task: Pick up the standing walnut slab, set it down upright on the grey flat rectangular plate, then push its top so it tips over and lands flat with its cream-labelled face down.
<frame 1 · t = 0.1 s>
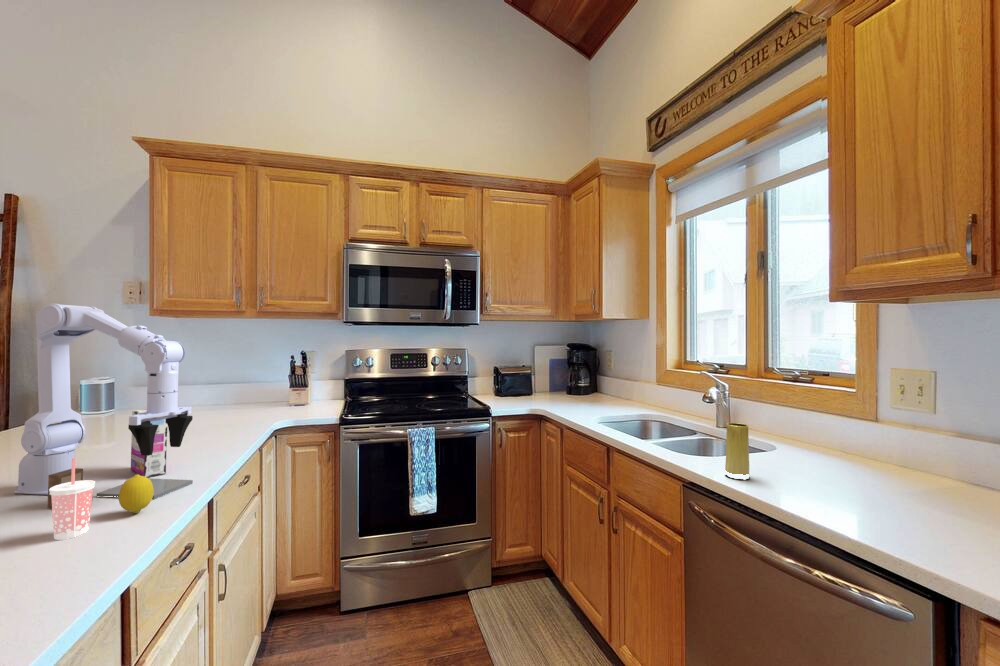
hand: (161, 450, 102), 10 cm above the worktop, tool pointing down, fingers open, 7 cm apart
lemon: (136, 514, 90), on the worktop
beverage cup: (71, 535, 81), on the worktop
walnut slab: (65, 504, 95), on the worktop
grey flat rectangular plate: (146, 489, 104), on the worktop
vase: (737, 477, 119), on the worktop
candy bar box: (148, 473, 118), on the worktop
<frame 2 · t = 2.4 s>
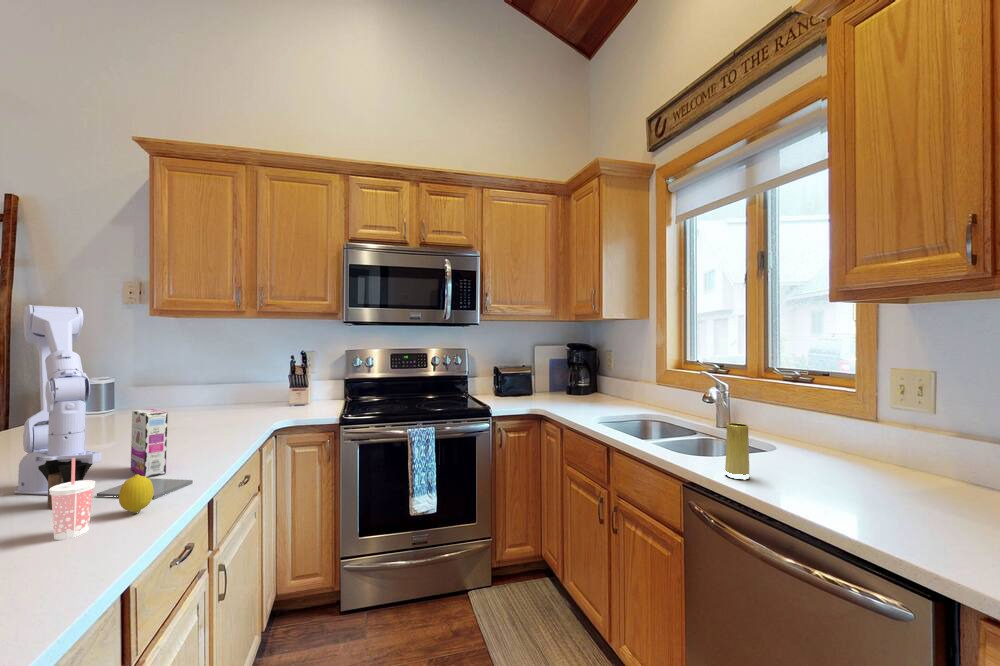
hand: (65, 495, 95), 2 cm above the worktop, tool pointing down, fingers closed on walnut slab, 2 cm apart
walnut slab: (65, 503, 95), on the worktop, touching gripper
everything else where it was.
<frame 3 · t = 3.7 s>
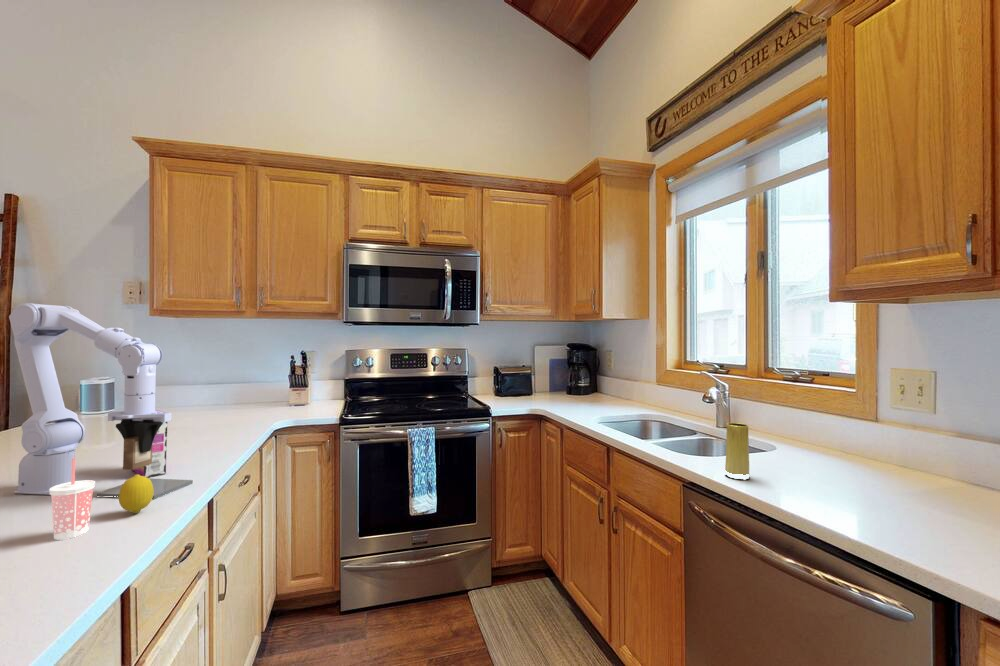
hand: (139, 451, 104), 9 cm above the worktop, tool pointing down, fingers closed on walnut slab, 2 cm apart
walnut slab: (137, 466, 103), point 6 cm above the worktop, touching gripper
everything else where it was.
when the fingers open (3 cm above the worktop, at t = 5.2 s): walnut slab stays where it is, resting on grey flat rectangular plate.
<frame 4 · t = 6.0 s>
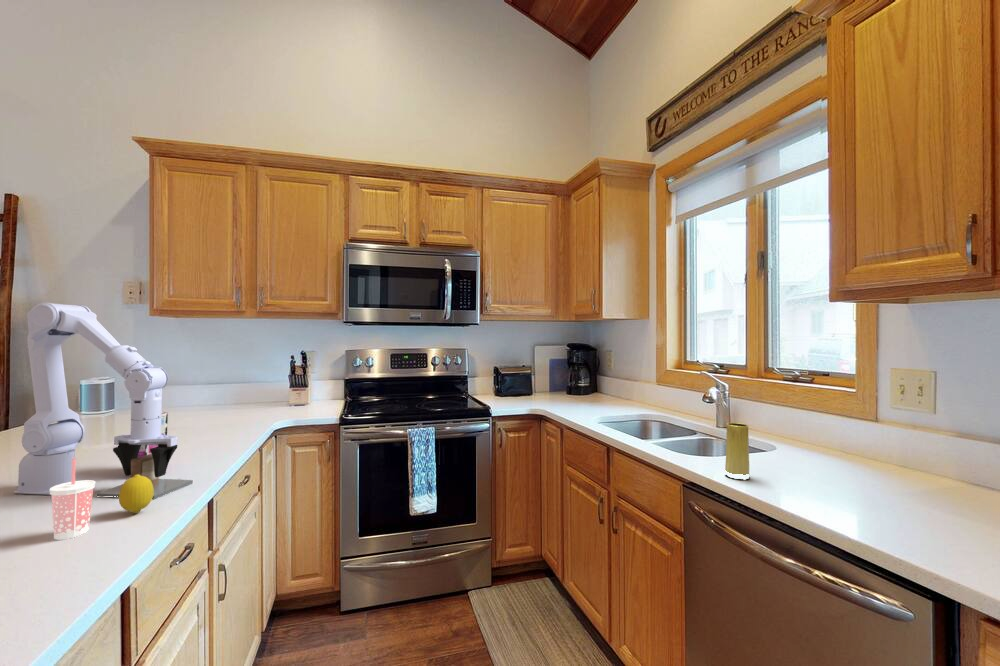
hand: (145, 475, 104), 3 cm above the worktop, tool pointing down, fingers open, 7 cm apart
walnut slab: (144, 486, 104), point 1 cm above the worktop, touching grey flat rectangular plate
everything else where it was.
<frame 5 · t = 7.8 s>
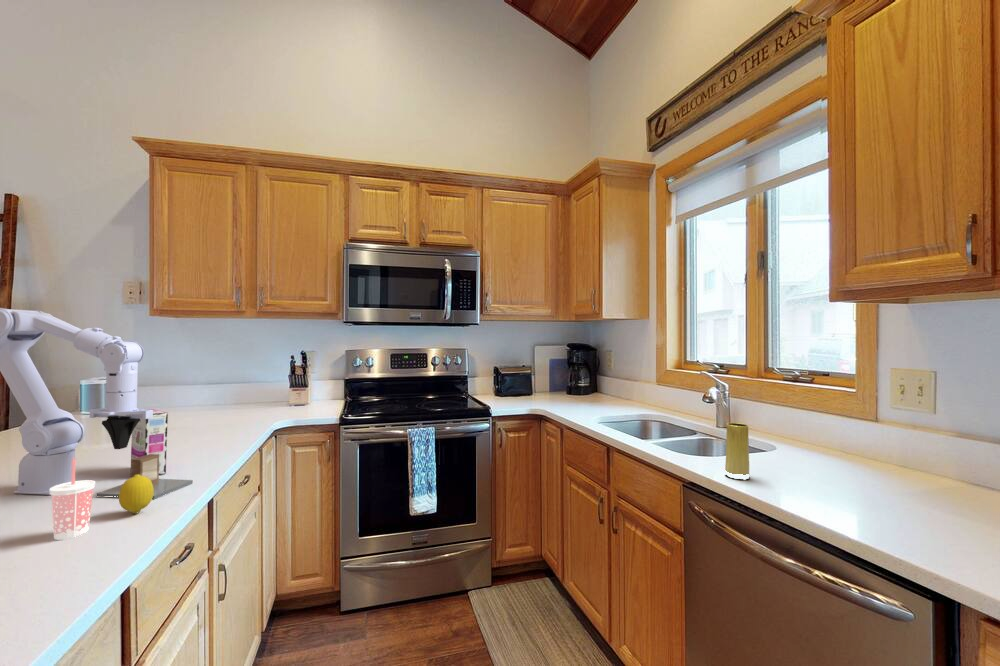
hand: (120, 448, 105), 10 cm above the worktop, tool pointing down, fingers closed
nothing on the worktop moved.
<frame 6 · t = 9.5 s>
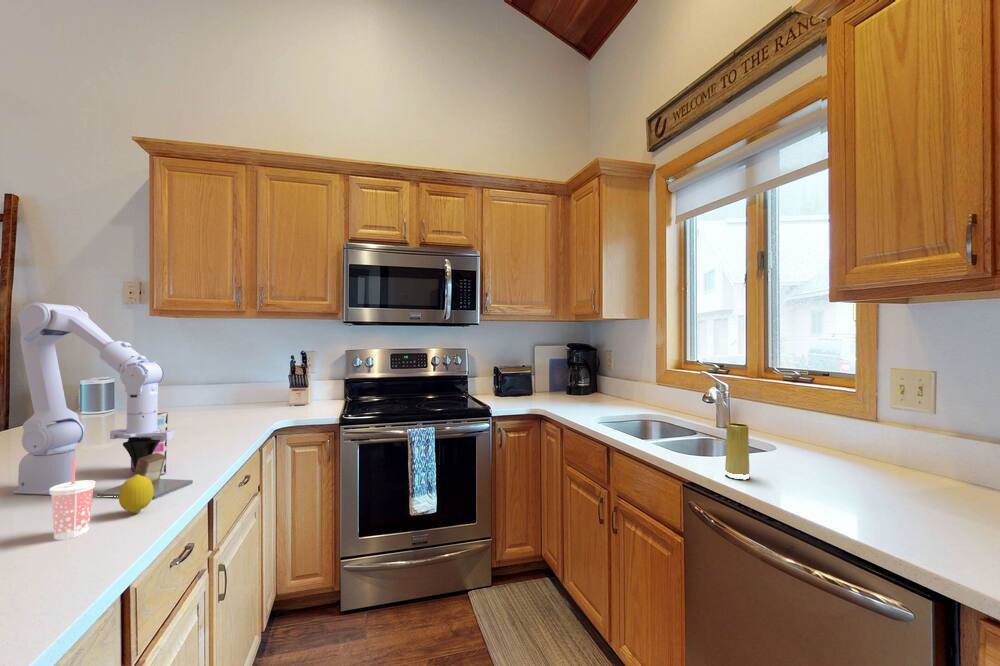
hand: (141, 469, 104), 5 cm above the worktop, tool pointing down, fingers closed
walnut slab: (144, 485, 104), point 1 cm above the worktop, tilted 14°, touching gripper, grey flat rectangular plate
everything else where it was.
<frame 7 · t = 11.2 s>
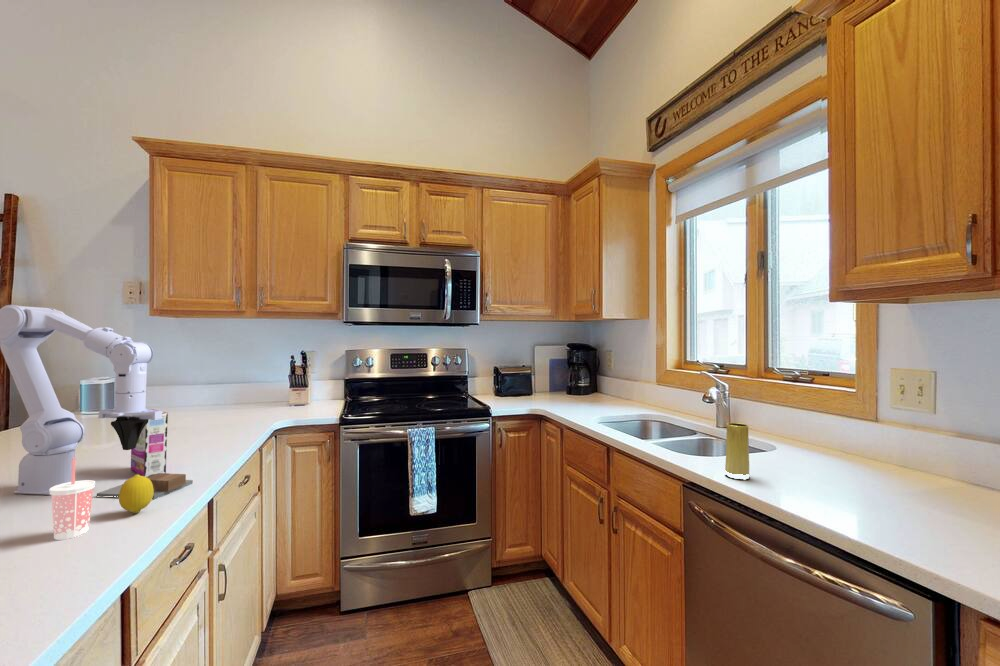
hand: (129, 449, 105), 10 cm above the worktop, tool pointing down, fingers closed
walnut slab: (149, 481, 104), point 2 cm above the worktop, tilted 90°, touching grey flat rectangular plate
everything else where it was.
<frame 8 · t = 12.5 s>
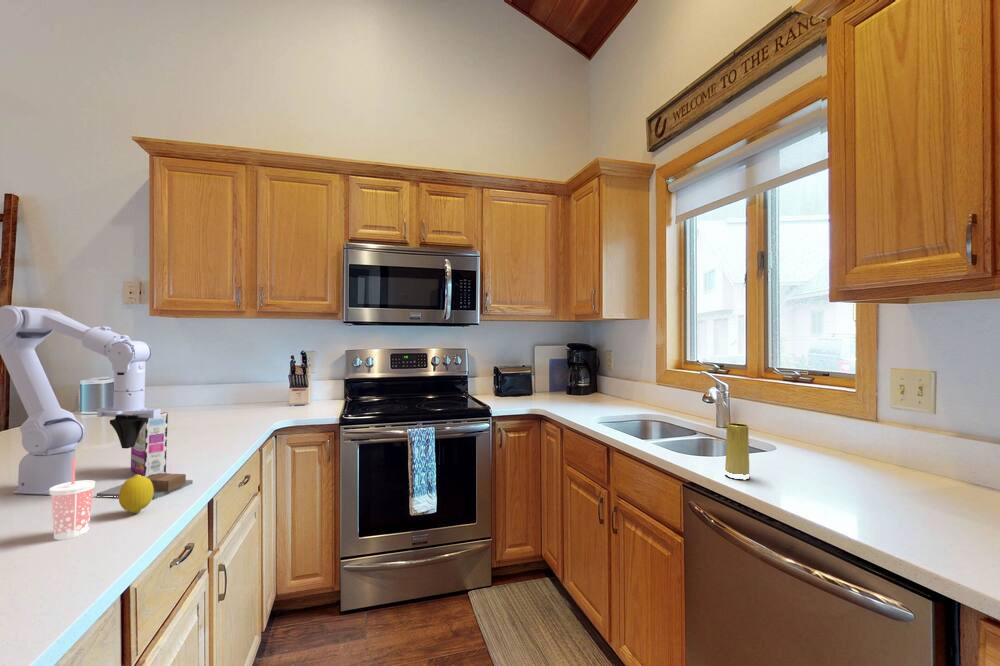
hand: (128, 447, 105), 10 cm above the worktop, tool pointing down, fingers closed
nothing on the worktop moved.
at the end: walnut slab tilted 90°; walnut slab inside the target area (2.3 cm from its centre), point 2.0 cm above the worktop; the gripper is holding nothing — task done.
